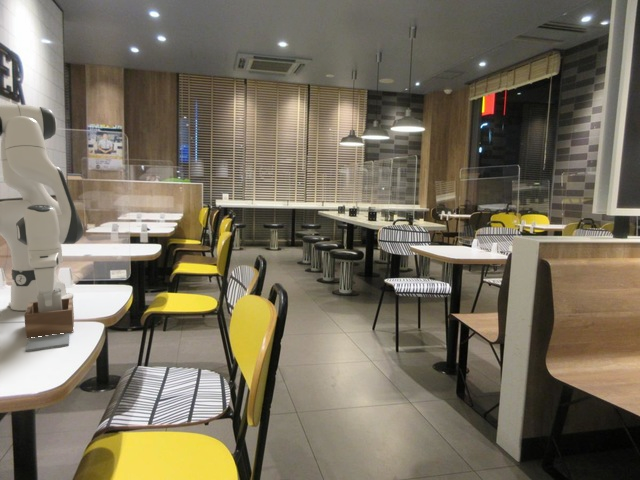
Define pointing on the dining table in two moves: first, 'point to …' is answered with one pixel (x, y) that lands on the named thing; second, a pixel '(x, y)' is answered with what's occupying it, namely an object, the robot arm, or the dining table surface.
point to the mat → (48, 342)
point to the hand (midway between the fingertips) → (50, 302)
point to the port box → (49, 320)
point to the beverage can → (55, 302)
